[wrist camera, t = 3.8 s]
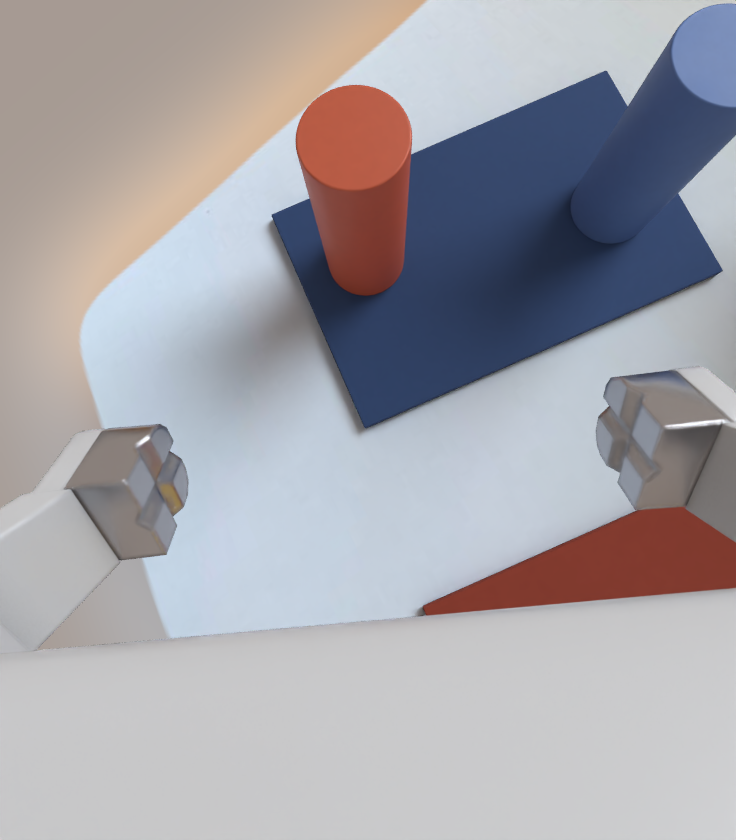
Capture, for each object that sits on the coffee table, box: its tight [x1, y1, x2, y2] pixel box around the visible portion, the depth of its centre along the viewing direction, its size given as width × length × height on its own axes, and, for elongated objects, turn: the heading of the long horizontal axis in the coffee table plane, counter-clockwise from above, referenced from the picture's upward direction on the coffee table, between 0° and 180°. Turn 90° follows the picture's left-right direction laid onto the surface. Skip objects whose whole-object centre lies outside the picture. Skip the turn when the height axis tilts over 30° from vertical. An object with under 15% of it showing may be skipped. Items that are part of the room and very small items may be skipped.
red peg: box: [296, 85, 412, 296], centre depth 23 cm, size 4×4×10 cm
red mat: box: [423, 507, 736, 616], centre depth 24 cm, size 18×16×1 cm
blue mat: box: [272, 71, 723, 428], centre depth 28 cm, size 22×14×1 cm, turn 114°
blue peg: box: [570, 4, 736, 244], centre depth 23 cm, size 4×4×10 cm
